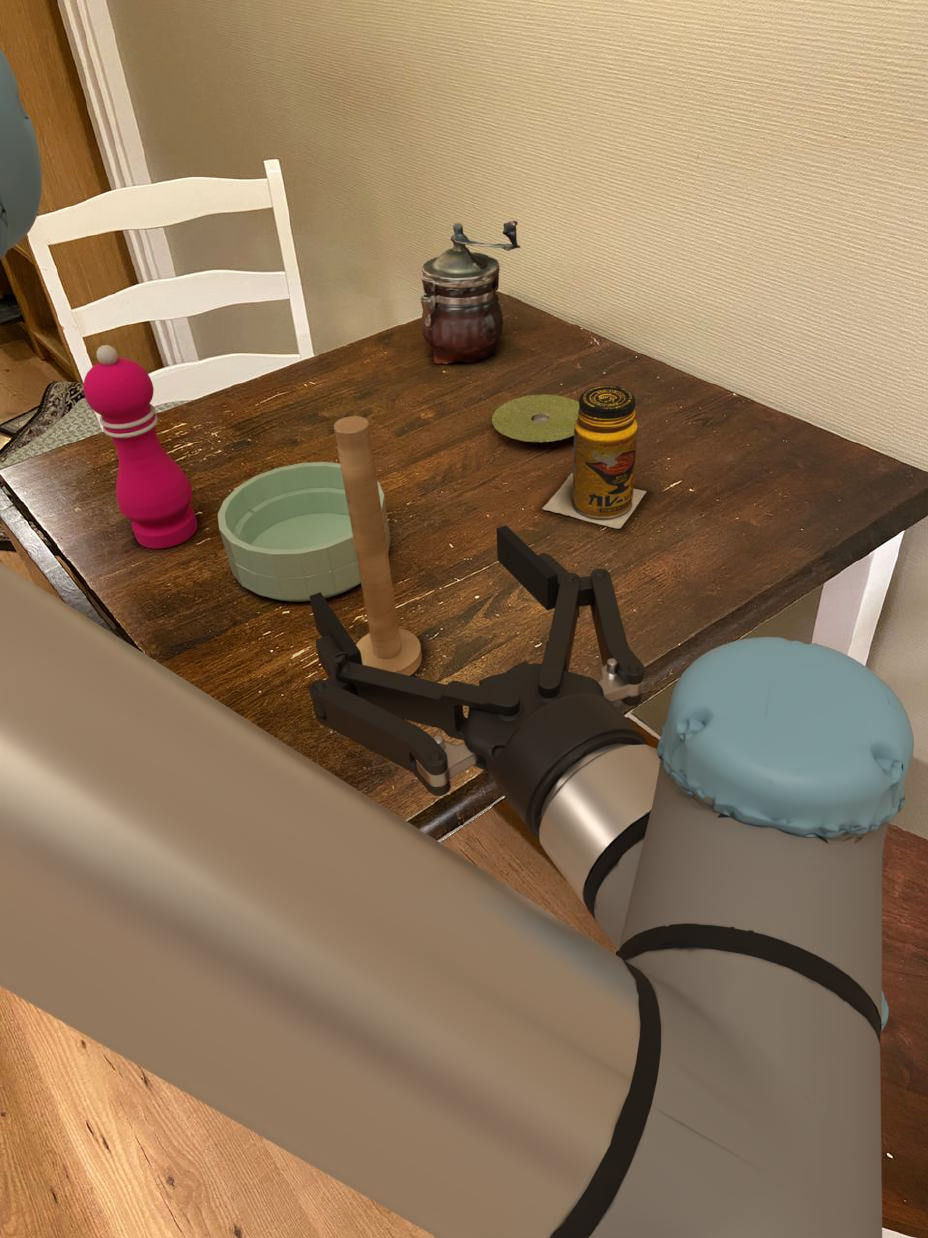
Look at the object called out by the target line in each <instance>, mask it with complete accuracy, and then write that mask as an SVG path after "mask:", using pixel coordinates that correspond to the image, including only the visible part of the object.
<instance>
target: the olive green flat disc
mask: <svg viewBox="0 0 928 1238" xmlns="http://www.w3.org/2000/svg"><path fill="white" fill-rule="evenodd" d="M578 410H579V400H578V401H577V400H575V399H572V398H569V397H567V396H563V395H558V394H557V395H556V394H546V393H545V394H544V393H543V394H531V395H526V396H519V397H517V398H514V399H511V400H509V401H506V402H505V403H503V404H502V405H500V406H498V407H497V409H495V411H494V412H493V413H492V416H491V424H492V425H493V427H494V429H495V430H496V431H497V432H498V433H500V434H501V435H503V436H505V437H508V438H510V439H514V440H517V441H522V442H524V443H525V442H530V443H545V442H546V443H549V442H551V443H554V442H556V441H562V440H564V439H569V438H571V437H574V426H575V422H576V420H577V419H578Z"/></svg>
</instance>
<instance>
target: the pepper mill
mask: <svg viewBox="0 0 928 1238" xmlns="http://www.w3.org/2000/svg"><path fill="white" fill-rule="evenodd" d="M118 356H119V355H118V352H117V350H116V349H115V347H114V346H111V345H109V344H103V345H101V346H99V347H98V348H97V350H96V359H97V360H98V362H97V363H96V364H95V365H93V366H92V367H91V368H90V369H89V370H88V371H87V373H86V375H85V376H84V380H83V395H84V398H85V401H86V402H87V404H88V406H89V408H90V409H91V410H93V411H94V412H95V413H97V414H98V415H100V417H99V422H100V424H101V426H102V431H103V433H104V434H105V435H106V436H108V437H109V438H111V440H112V442H113V444H114V446H115V450H116V453H117V457H118V471H117V476H116V487H115V496H116V501H117V505H118V509H119V510H120V512H121V514H122V515H123V516H124V517H125V518H127V519H128V520H130V521H131V529H132V530H133V531H132V532H133V534H134V537H135V539H136V541H137V543H138V544H139V545H141V546H143V547H144V548H147V549H153V550H161V549H163V550H164V549H168V548H172V547H175V546H179V545H181V544H183V543H185V542H187V541H188V540H189V539H190V538H192V537H193V536H194V535H195V533H197V531H198V530H197V529H198V525H199V524H198V520H197V516H196V514H195V510H194V508H193V507H192V506H191V503H192V500H193V494H194V493H193V488H192V485H191V482H190V480H189V478H188V476H187V475H186V474H185V472H184V471H183V469H182V468H181V467H180V466H179V465H178V464H177V462H176V461H174V459H172V457H171V456H170V455H169V454H168V453H167V452H166V450H165V449H164V447H163V446H162V444H161V442H160V439H159V437H158V434H157V429H156V425H157V424H158V422H159V417H158V415H157V414H156V408H155V406H154V405H153V404H151V402H152V400H153V397H154V389H155V388H154V384H153V381H152V379H151V377H150V375H149V374H148V373H149V372H148V371H147V370H145V368H144V367H143V366H142V365H140V364H139V363H137V362H136V361H133V360H131V359H128V358H122V357H120V358H119V357H118Z"/></svg>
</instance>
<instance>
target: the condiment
mask: <svg viewBox="0 0 928 1238" xmlns="http://www.w3.org/2000/svg"><path fill="white" fill-rule="evenodd" d="M578 398H579V399H578V402H579V410H578V419H577V420H576V422H575V426H574V435H573V461H572V463H573V464H572V466H573V467H572V468H573V469H572V472H571V473H570V474H569V475H568V476H567V479H566V480H565V481H564V482H563V483H562V485H561V486H560V488H559V489H558V490H557V491H556V492H555V493H554V495H552V496H551V498H550V499H549V500H548V502H547V503H546V504H544V506H543V507H542V508H541V510H543V511H549V512H552V513H556V514H561V515H563V516H569V517H572V518H575V519H578V520H581V521H585V522H588V523H592V524H597V525H600V526H606V527H609V528H613V529H622V527H623V526H624V524H625V523H626V522H627V520H628V519H629V518H630V517H631V515H632V514H633V512H634V511H635V510H636V508H637V506H638V505H639V504H640V502H641V501H642V499H643V497H644V496H645V495H646V494H647V490H643V489H637V488H634V484H635V472H636V463H637V462H636V461H637V459H636V458H637V454H636V453H637V445H638V435H639V434H638V433H639V426H638V422H637V420H636V398H635V396H634V394H633V393H632V392H631V391H630V390H629V389H627V388H624V387H622V386H618V385H613V384H611V385H610V384H604V385H598V386H593V387H590V388H588V389H586V390H585V391H583V392H582V394H580V395H579V397H578Z"/></svg>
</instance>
